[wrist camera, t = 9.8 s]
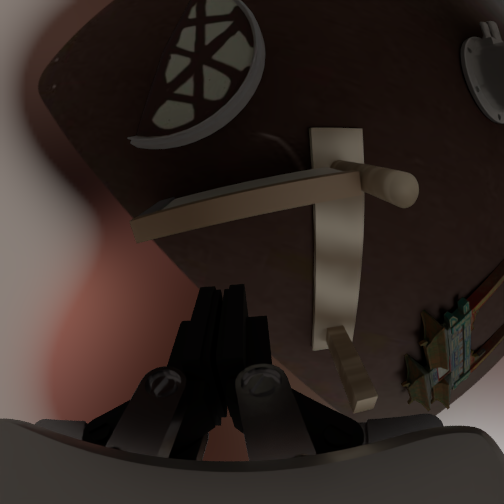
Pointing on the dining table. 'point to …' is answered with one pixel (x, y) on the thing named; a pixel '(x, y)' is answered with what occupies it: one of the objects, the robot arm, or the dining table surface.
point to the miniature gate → (451, 347)
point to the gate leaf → (245, 201)
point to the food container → (202, 74)
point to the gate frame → (346, 252)
